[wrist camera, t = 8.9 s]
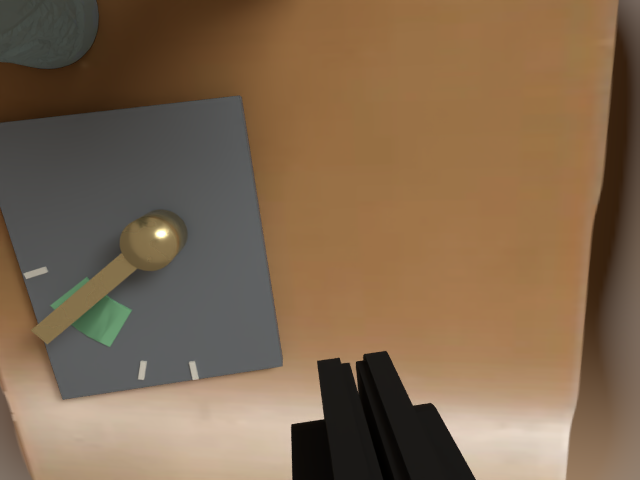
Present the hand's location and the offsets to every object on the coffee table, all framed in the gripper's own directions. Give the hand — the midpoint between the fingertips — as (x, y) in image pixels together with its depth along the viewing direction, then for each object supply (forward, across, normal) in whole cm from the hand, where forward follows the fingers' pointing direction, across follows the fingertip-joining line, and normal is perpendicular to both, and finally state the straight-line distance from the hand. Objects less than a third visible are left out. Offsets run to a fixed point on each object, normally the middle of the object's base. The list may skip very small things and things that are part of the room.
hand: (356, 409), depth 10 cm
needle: (+25, +16, +3) cm, 30 cm away
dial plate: (+27, +14, +2) cm, 30 cm away
